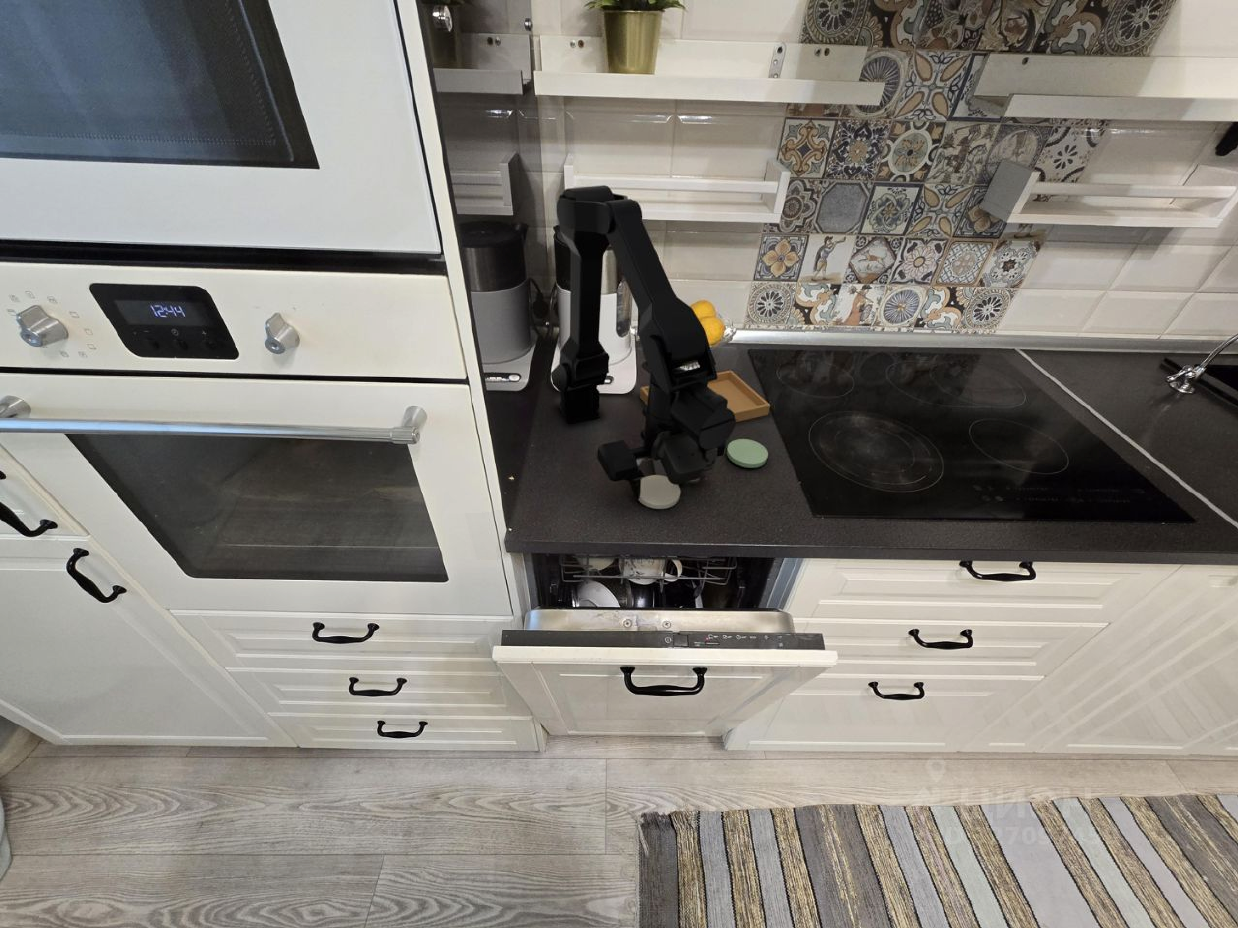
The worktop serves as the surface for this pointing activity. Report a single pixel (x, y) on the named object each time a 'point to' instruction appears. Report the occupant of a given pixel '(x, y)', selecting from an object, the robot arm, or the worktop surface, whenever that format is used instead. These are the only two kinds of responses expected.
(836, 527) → the worktop surface
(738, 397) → the tray
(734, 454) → the sage plate
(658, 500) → the cream plate
